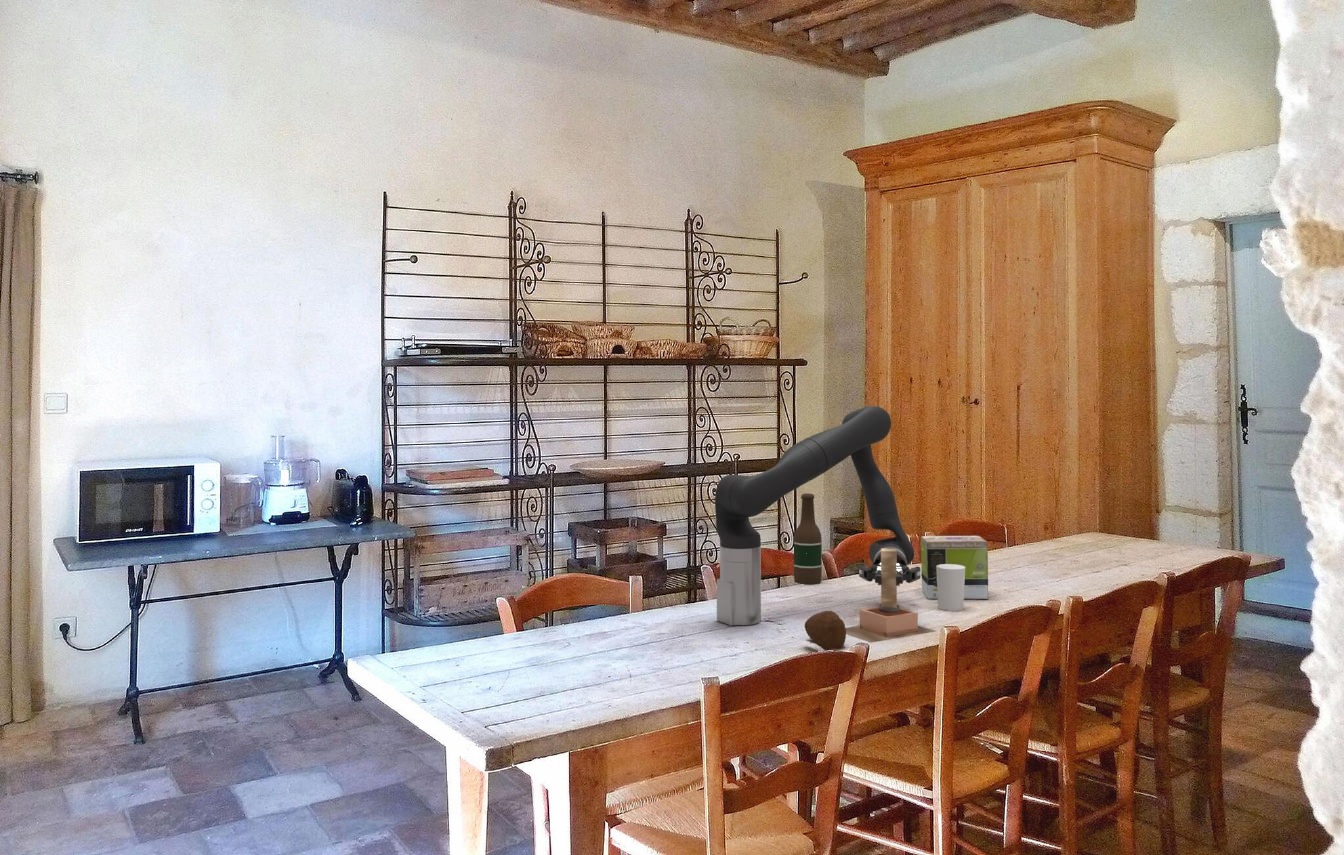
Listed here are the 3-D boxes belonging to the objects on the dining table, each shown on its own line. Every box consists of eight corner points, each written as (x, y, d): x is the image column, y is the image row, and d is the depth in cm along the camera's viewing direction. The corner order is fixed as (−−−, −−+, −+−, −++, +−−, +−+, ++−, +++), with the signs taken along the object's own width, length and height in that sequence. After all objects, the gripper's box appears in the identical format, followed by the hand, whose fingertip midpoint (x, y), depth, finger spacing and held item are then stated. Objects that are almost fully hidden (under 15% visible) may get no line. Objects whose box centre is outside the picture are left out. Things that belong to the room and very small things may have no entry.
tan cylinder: (878, 612, 211) (878, 551, 210) (878, 607, 215) (878, 547, 215) (899, 613, 210) (899, 551, 209) (899, 608, 214) (899, 548, 214)
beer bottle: (813, 585, 265) (813, 496, 264) (788, 582, 270) (787, 494, 269) (827, 581, 271) (827, 493, 270) (802, 577, 276) (802, 491, 275)
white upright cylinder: (966, 611, 234) (966, 569, 233) (937, 610, 235) (937, 568, 235) (963, 605, 240) (964, 564, 240) (935, 604, 242) (935, 563, 241)
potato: (830, 657, 196) (829, 617, 196) (797, 646, 204) (797, 608, 204) (857, 651, 200) (857, 612, 200) (824, 641, 208) (824, 604, 208)
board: (870, 648, 203) (870, 642, 202) (833, 635, 213) (833, 629, 213) (936, 636, 211) (936, 630, 211) (897, 624, 222) (897, 619, 222)
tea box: (980, 591, 256) (980, 534, 255) (988, 600, 246) (989, 540, 245) (920, 591, 258) (920, 534, 257) (926, 599, 248) (926, 540, 247)
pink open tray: (886, 636, 207) (886, 617, 207) (859, 628, 214) (859, 609, 214) (917, 631, 211) (917, 612, 211) (890, 623, 218) (890, 605, 218)
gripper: (858, 548, 228) (854, 562, 211) (922, 549, 224) (923, 563, 208) (858, 580, 228) (854, 597, 211) (922, 582, 225) (923, 599, 208)
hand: (888, 580), depth 209 cm, fingers closed on tan cylinder, 3 cm apart
